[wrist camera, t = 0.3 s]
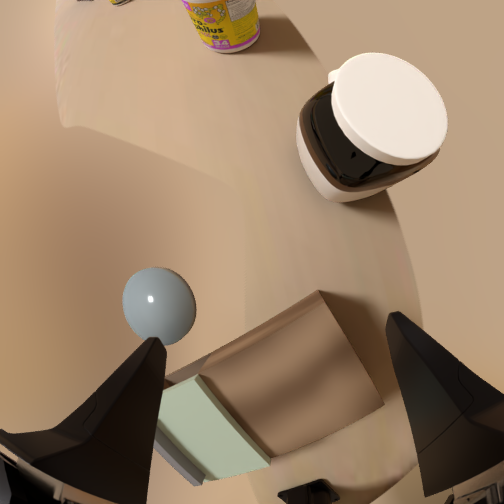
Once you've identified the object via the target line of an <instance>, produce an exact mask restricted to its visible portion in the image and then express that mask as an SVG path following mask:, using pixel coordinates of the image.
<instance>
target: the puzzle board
mask: <svg viewBox="0 0 504 504" xmlns="http://www.w3.org/2000/svg"><path fill="white" fill-rule="evenodd" d="M197 374H198V375H199V376H200V377H201V379H202V380H203V381H204V383H205V384H206V385H207V387H208V388H209V389H210V390H211V392H212V393H213V394H214V395H215V397H216V398H217V399H218V400H219V402H220V403H221V404H222V405H223V406H224V408H225V409H226V410H227V411H228V412H229V414H230V415H231V416H232V417H233V418H234V419H235V421H236V422H237V423H238V424H239V425H240V426H241V427H242V429H243V430H244V431H245V432H246V433H247V434H248V435H249V436H250V437H251V439H252V440H253V441H254V442H255V443H256V444H257V445H258V446H259V447H260V448H261V449H262V450H263V451H264V452H265V453H266V454H267V455H268V456H269V457H270V458H273V457H276V456H279V455H282V454H284V453H287V452H290V451H292V450H295V449H297V448H300V447H302V446H305V445H307V444H310V443H312V442H314V441H316V440H319V439H321V438H323V437H325V436H328V435H330V434H332V433H334V432H336V431H338V430H340V429H342V428H344V427H346V426H348V425H350V424H352V423H354V422H356V421H357V420H359V419H361V418H363V417H365V416H366V415H368V414H370V413H372V412H373V411H375V410H377V409H378V408H380V407H382V406H383V405H385V404H384V402H383V400H382V398H381V396H380V394H379V392H378V391H377V389H376V387H375V385H374V383H373V381H372V380H371V378H370V376H369V374H368V373H367V371H366V369H365V367H364V366H363V364H362V362H361V361H360V359H359V357H358V355H357V354H356V352H355V350H354V349H353V347H352V345H351V344H350V342H349V340H348V339H347V337H346V335H345V334H344V332H343V330H342V329H341V327H340V325H339V324H338V322H337V320H336V319H335V317H334V315H333V314H332V312H331V310H330V309H329V307H328V306H327V304H326V302H325V301H324V299H323V298H322V296H321V294H320V293H319V291H318V290H316V291H315V292H313V293H312V294H310V295H309V296H307V297H306V298H304V299H302V300H301V301H299V302H298V303H296V304H294V305H293V306H291V307H290V308H288V309H286V310H285V311H283V312H281V313H280V314H278V315H276V316H275V317H273V318H271V319H270V320H268V321H266V322H265V323H263V324H261V325H260V326H258V327H256V328H254V329H253V330H251V331H249V332H247V333H246V334H244V335H242V336H240V337H239V338H237V339H235V340H233V341H231V342H230V343H228V344H226V345H224V346H222V347H221V348H219V349H217V350H215V351H213V352H211V353H209V354H208V355H206V356H204V357H202V358H200V359H198V360H196V361H194V362H193V363H190V364H188V365H187V366H185V367H183V368H181V369H179V370H177V371H175V372H173V373H171V374H169V375H167V376H165V381H164V389H163V390H165V389H167V388H169V387H172V386H174V385H176V384H178V383H180V382H183V381H185V380H187V379H189V378H191V377H193V376H195V375H197Z"/></svg>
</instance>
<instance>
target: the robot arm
mask: <svg viewBox="0 0 504 504" xmlns="http://www.w3.org/2000/svg"><path fill="white" fill-rule="evenodd" d="M386 336H387V340H388V345H389V349H390V354H391V359H392V363H393V367H394V371H395V374H396V377H397V380H398V384H399V387H400V390H401V394H402V397H403V400H404V404H405V407H406V411H407V415H408V419H409V422H410V426H411V430H412V434H413V439H414V443H415V447H416V452H417V454H418V455H417V457H418V462H419V467H420V472H421V478H422V483H423V490H424V496H425V497H428V496H431V495H434V494H436V493H439V492H442V491H444V490H447V489H449V488H451V487H452V490H453V494H452V495H450V496H449V497H448V499H447V500H446V502H445V504H504V394H503V393H501V392H500V391H498V390H497V389H495V388H494V387H493V386H491V385H490V384H489V383H487V382H486V381H484V380H483V379H482V378H480V377H479V376H478V375H476V374H475V373H474V372H472V371H471V370H470V369H469V368H467V367H466V366H465V365H464V364H463V363H462V362H459V360H458V359H457V358H456V357H454V356H453V355H452V354H451V353H450V352H449V351H448V350H446V349H445V348H444V347H443V346H442V345H440V344H439V343H438V342H437V341H436V340H434V339H433V338H432V337H431V336H429V335H428V334H427V333H426V332H425V331H423V330H422V329H421V328H420V327H419V326H417V325H416V324H415V323H414V322H412V321H411V320H410V319H409V318H407V317H406V316H405V315H404V314H402V313H401V312H399V311H396V312H392V313H390V314H389V315H388V319H387V324H386ZM166 358H167V351H166V349H165V347H164V345H163V343H162V342H161V340H160V338H158V337H148V338H147V339H146V340H145V341H144V342H143V343H142V344H141V345H140V346H139V347H138V348H137V349H136V350H135V351H134V352H133V353H132V354H131V355H130V356H129V357H128V358H127V359H126V360H125V361H124V362H123V363H122V364H121V365H120V366H119V367H118V369H116V371H114V373H113V374H112V375H111V376H110V377H109V378H108V379H107V380H106V381H105V382H104V383H103V384H102V385H101V386H100V387H99V388H98V389H97V390H96V392H94V393H93V394H92V395H91V396H90V397H89V398H88V399H87V400H86V401H85V402H84V403H83V404H82V405H81V406H79V407H78V408H77V409H76V410H75V411H74V412H73V413H71V414H70V415H69V416H68V417H67V418H66V419H64V420H63V421H62V422H61V423H60V424H58V425H57V426H56V427H54V428H52V429H48V430H43V431H35V432H27V433H16V434H12V433H7V432H6V431H4V430H3V429H0V444H2V445H3V446H4V447H5V448H7V449H8V450H9V451H11V452H12V453H13V454H15V455H16V456H17V457H18V461H17V462H16V461H14V460H13V459H11V458H10V457H8V456H7V455H5V454H4V453H2V452H1V451H0V504H146V501H147V492H148V483H149V475H150V467H151V460H152V453H153V446H154V440H155V434H156V428H157V422H158V416H159V410H160V405H161V399H162V394H163V389H164V381H165V369H166ZM278 497H279V498H280V499H282V500H283V501H284V502H285V503H287V504H332V502H335V501H338V500H339V499H340V496H339V495H338V494H336V493H335V492H334V491H333V490H332V489H331V488H330V487H329V486H328V485H327V484H326V483H325V482H324V481H323V480H316V481H313V482H311V483H308V484H305V485H302V486H299V487H295V488H292V489H289V490H285V491H282V492H279V493H278Z"/></svg>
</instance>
